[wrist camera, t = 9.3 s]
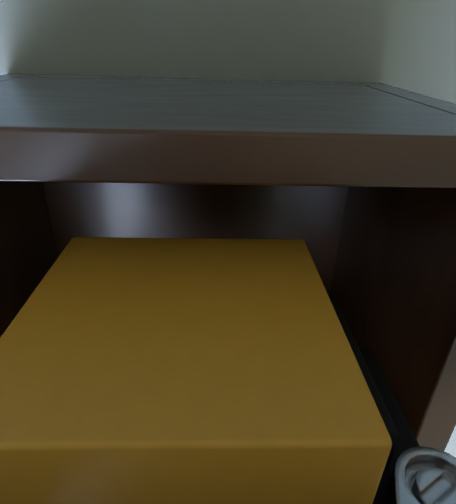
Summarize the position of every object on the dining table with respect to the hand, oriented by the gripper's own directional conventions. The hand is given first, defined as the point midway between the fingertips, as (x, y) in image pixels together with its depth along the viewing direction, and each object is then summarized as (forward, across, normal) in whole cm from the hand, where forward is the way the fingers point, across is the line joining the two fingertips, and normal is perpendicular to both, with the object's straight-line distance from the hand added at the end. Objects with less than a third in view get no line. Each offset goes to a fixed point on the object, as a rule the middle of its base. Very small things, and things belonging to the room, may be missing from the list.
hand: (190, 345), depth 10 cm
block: (+1, 0, 0) cm, 1 cm away
